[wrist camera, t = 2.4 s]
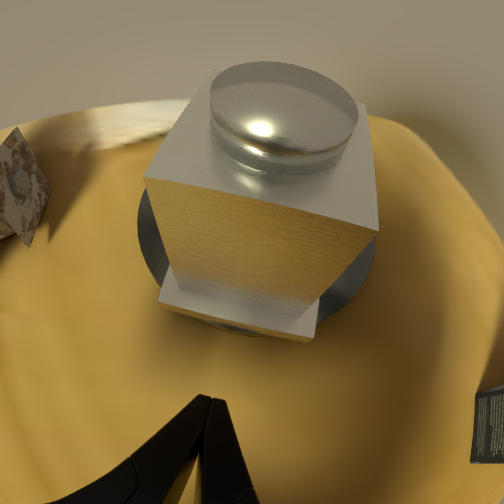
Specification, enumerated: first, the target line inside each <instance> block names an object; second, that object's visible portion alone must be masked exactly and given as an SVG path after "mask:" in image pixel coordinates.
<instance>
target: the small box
mask: <svg viewBox="0 0 504 504" xmlns="http://www.w3.org/2000/svg"><path fill="white" fill-rule="evenodd" d="M470 463H471V464H504V384H503V385H500V386H497V387H494V388H491V389H488V390H485V391H482V392H479V393H477V394H476V395H475V417H474V431H473V442H472V450H471V458H470Z"/></svg>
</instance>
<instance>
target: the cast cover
mask: <svg viewBox="0 0 504 504" xmlns="http://www.w3.org/2000/svg"><path fill="white" fill-rule="evenodd" d="M143 179H144V182H145V186H146V189H147V193H148V196H149V200H150V203H151V206H152V210H153V213H154V216H155V219H156V223H157V226H158V229H159V232H160V235H161V238H162V241H163V244H164V247H165V250H166V253H167V256H168V259H169V262H170V265H169V268H168V271H167V273H166V276H165V279H164V282H163V285H162V288H161V291H160V294H159V297H158V300H157V302H158V303H159V305H160V306H161V308H163V309H166V310H170V311H173V312H177V313H180V314H184V315H188V316H191V317H195V318H199V319H203V320H207V321H211V322H215V323H219V324H223V325H227V326H231V327H235V328H239V329H244V330H248V331H252V332H257V333H261V334H266V335H271V336H276V337H280V338H285V339H290V340H296V341H301V342H306V343H307V342H309V341H310V340H312V339H313V338H314V335H315V328H316V321H317V313H318V306H319V298H320V296H321V295H322V294H323V293H324V292H325V291H326V290H327V289H328V288H329V287H330V286H331V285H332V283H333V282H334V281H335V280H336V279H337V278H338V277H339V276H340V275H341V274H342V273H343V272H344V270H345V269H346V268H347V267H348V266H349V265H350V264H351V263H352V262H353V260H354V259H355V258H356V257H357V256H358V255H359V254H360V253H361V251H362V250H363V249H364V248H365V247H366V246H367V245H368V243H369V242H370V241H371V240H372V239H373V238H374V236H375V235H376V234H377V233H378V232H379V221H378V203H377V190H376V179H375V169H374V160H373V152H372V144H371V137H370V130H369V123H368V117H367V112H366V106H365V104H362V103H359V102H356V101H354V100H353V99H352V97H351V96H350V95H349V94H348V93H347V92H346V91H345V90H344V89H343V88H342V87H341V86H339V85H338V84H337V83H335V82H334V81H332V80H331V79H329V78H327V77H325V76H323V75H321V74H319V73H317V72H315V71H312V70H310V69H306V68H303V67H300V66H296V65H292V64H286V63H280V62H250V63H244V64H240V65H236V66H233V67H231V68H228V69H226V70H224V71H220V70H213V71H212V73H211V74H210V75H209V76H208V78H207V79H206V80H205V81H204V83H203V84H202V86H201V87H200V88H199V90H198V91H197V92H196V94H195V95H194V97H193V98H192V99H191V101H190V102H189V104H188V105H187V106H186V108H185V109H184V111H183V112H182V114H181V115H180V117H179V118H178V120H177V121H176V123H175V124H174V126H173V127H172V129H171V130H170V132H169V134H168V135H167V137H166V138H165V140H164V141H163V143H162V145H161V146H160V148H159V150H158V151H157V153H156V155H155V156H154V158H153V160H152V161H151V163H150V165H149V166H148V168H147V170H146V172H145V173H144V175H143Z"/></svg>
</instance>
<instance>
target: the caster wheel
mask: <svg viewBox="0 0 504 504" xmlns="http://www.w3.org/2000/svg"><path fill="white" fill-rule="evenodd" d="M50 192H51V186H50V184H49V183H48V181H47V179H46V178H45V176H44V174H43V172H42V171H41V169H40V167H39V166H38V164H37V160H36V157H35V154H34V152H33V151H32V149H31V148H30V147H29V146H28V144H27V142H26V140H25V139H24V138H23V136H22V134H21V132H20V130H19V128H18V127H16V128H15V129H14V130H13V131H12V132H11V133H10V135H9V136H8V137H7V138H6V139H5V141H4V142H3V143H2V144H1V146H0V240H1V239H3V238H5V237H7V236H10V235H12V234H14V233H17V235H18V236H19V237H20V238H21V239H22V241H23V242H24V243H25V244H26V245H27V246H28V247H30V246H31V243H32V240H33V237H34V234H35V231H36V228H37V225H38V223H39V220H40V217H41V215H42V212H43V210H44V207H45V205H46V202H47V200H48V197H49V195H50Z"/></svg>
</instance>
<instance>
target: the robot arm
mask: <svg viewBox="0 0 504 504" xmlns="http://www.w3.org/2000/svg"><path fill="white" fill-rule="evenodd" d="M199 450H200V451H199ZM198 454H199V456H198ZM197 457H198V462H197V472H196V483H195V495H194V504H260V503H259V500H258V498H257V495H256V492H255V490H254V489H253V484H252V481H251V478H250V476H249V473H248V470H247V467H246V464H245V461H244V458H243V455H242V452H241V449H240V446H239V442H238V439H237V436H236V433H235V430H234V426H233V423H232V420H231V417H230V413H229V410H228V406H227V403H226V401H225V400H222V399H218V398H211V397H210V396H206V395H202V394H199V395H197V396H196V397H195V398H194V399H193V400H192V401H191V402H190V403H189V404H188V405H186V406H185V407H184V408H183V409H182V410H181V411H180V412H179V413H178V414H177V415H176V416H175V417H173V418H172V419H171V420H170V421H169V422H168V423H167V424H166V425H165V426H164V427H162V428H161V429H160V430H159V431H158V432H157V433H156V434H155V435H153V436H152V437H151V438H150V439H149V440H148V441H147V442H145V443H144V444H143V445H142V446H141V447H140V448H139V449H137V450H136V451H135V452H134V453H133V454H131V455H130V457H128V458H127V459H125V460H124V461H123V462H122V463H121V464H119V465H118V466H117V467H115V468H114V469H113V470H111V471H110V472H109V473H107V474H105V475H104V476H102V477H101V478H99V479H97V480H96V481H94V482H92V483H90V484H89V485H87V486H85V487H83V488H81V489H79V490H77V491H76V492H74V493H72V494H70V495H68V496H66V497H64V498H61V499H59V500H57V501H54V502H50V503H45V504H178V503H179V500H180V498H181V496H182V493H183V491H184V489H185V486H186V484H187V482H188V479H189V477H190V475H191V472H192V470H193V468H194V465H195V463H196V460H197Z"/></svg>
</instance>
